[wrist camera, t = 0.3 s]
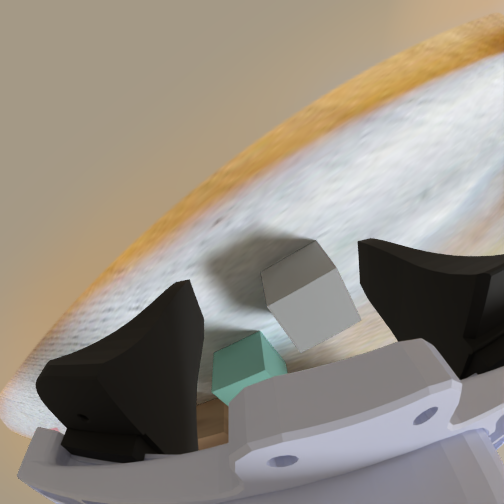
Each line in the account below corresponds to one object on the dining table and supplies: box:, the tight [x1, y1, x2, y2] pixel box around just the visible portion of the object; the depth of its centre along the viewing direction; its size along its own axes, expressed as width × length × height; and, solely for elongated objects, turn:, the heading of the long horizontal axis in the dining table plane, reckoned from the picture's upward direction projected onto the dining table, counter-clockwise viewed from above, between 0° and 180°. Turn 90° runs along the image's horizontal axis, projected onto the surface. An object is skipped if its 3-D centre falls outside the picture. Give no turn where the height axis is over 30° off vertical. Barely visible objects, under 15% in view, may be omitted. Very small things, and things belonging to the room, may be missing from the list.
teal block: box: [211, 331, 288, 406], centre depth 24 cm, size 5×5×5 cm
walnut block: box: [196, 398, 229, 450], centre depth 27 cm, size 5×5×5 cm
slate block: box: [261, 241, 361, 353], centre depth 21 cm, size 5×5×5 cm
